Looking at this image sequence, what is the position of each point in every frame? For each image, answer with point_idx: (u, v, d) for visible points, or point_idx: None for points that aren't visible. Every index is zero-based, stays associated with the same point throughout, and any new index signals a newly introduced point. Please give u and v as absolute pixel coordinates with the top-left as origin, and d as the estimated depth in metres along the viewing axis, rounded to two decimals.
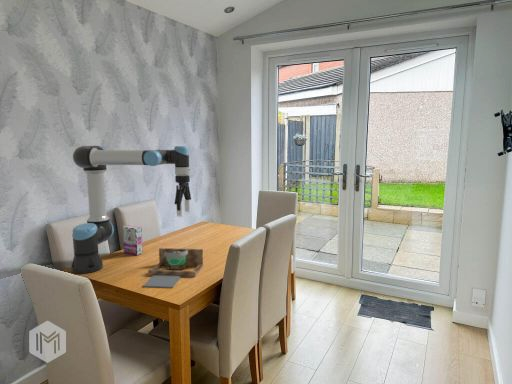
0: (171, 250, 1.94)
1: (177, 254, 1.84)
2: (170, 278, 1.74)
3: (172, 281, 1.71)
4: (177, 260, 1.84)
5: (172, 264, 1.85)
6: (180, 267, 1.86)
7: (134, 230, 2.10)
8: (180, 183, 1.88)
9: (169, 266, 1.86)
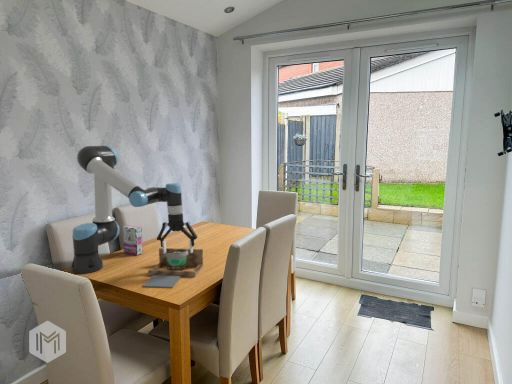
0: (171, 250, 1.94)
1: (178, 254, 1.84)
2: (170, 278, 1.74)
3: (172, 281, 1.71)
4: (178, 261, 1.85)
5: (173, 264, 1.85)
6: (181, 267, 1.86)
7: (134, 230, 2.10)
8: None
9: (169, 267, 1.86)
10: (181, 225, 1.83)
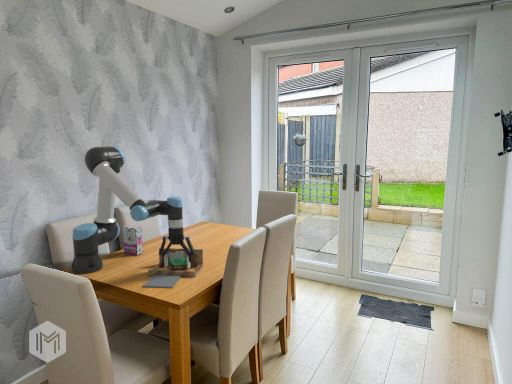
0: (171, 250, 1.94)
1: (180, 254, 1.84)
2: (170, 278, 1.74)
3: (172, 281, 1.71)
4: (180, 260, 1.85)
5: (175, 264, 1.85)
6: (183, 267, 1.86)
7: (134, 230, 2.10)
8: None
9: (172, 266, 1.86)
10: (181, 239, 1.84)
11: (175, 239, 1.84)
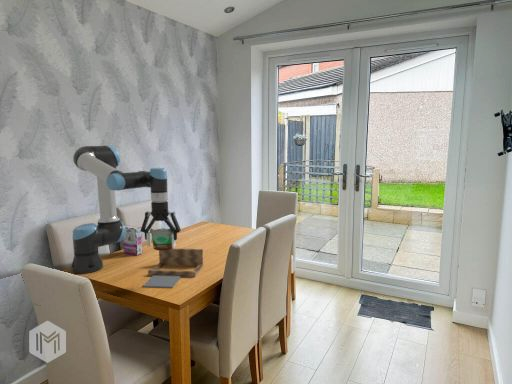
0: (171, 250, 1.94)
1: (164, 231, 1.66)
2: (170, 278, 1.74)
3: (172, 281, 1.71)
4: (164, 238, 1.67)
5: (159, 242, 1.67)
6: (167, 246, 1.68)
7: (134, 230, 2.10)
8: None
9: (155, 245, 1.68)
10: (165, 214, 1.66)
11: (159, 215, 1.66)
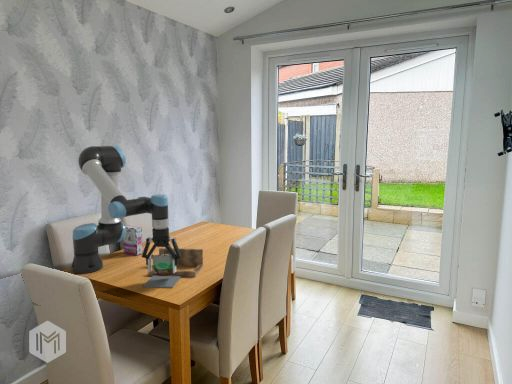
0: None
1: (165, 257, 1.68)
2: (170, 278, 1.74)
3: (172, 281, 1.71)
4: (165, 264, 1.69)
5: (160, 268, 1.69)
6: (168, 271, 1.70)
7: (134, 230, 2.10)
8: None
9: (156, 271, 1.70)
10: (166, 240, 1.68)
11: (160, 241, 1.68)
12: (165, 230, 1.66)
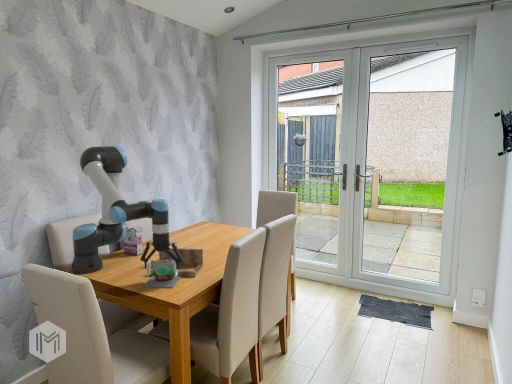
0: (171, 250, 1.94)
1: (165, 263, 1.68)
2: None
3: (172, 281, 1.71)
4: (165, 270, 1.69)
5: (159, 274, 1.69)
6: (168, 277, 1.71)
7: (134, 230, 2.10)
8: None
9: (156, 276, 1.70)
10: (166, 245, 1.68)
11: (160, 246, 1.68)
12: (165, 235, 1.66)
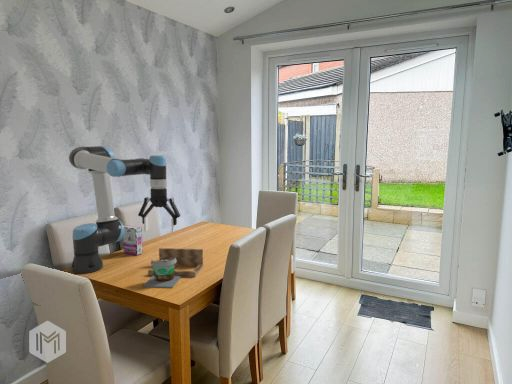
0: (171, 250, 1.94)
1: (165, 263, 1.68)
2: None
3: (172, 281, 1.71)
4: (165, 270, 1.69)
5: (159, 274, 1.69)
6: (168, 277, 1.71)
7: (134, 230, 2.10)
8: None
9: (156, 276, 1.70)
10: (164, 201, 1.70)
11: (157, 201, 1.70)
12: (163, 190, 1.68)
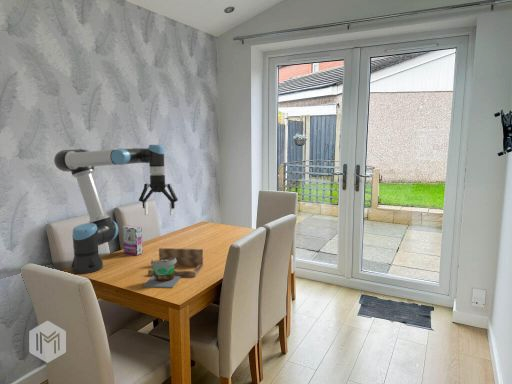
0: (171, 250, 1.94)
1: (165, 263, 1.68)
2: None
3: (172, 281, 1.71)
4: (165, 270, 1.69)
5: (159, 274, 1.69)
6: (168, 277, 1.71)
7: (134, 230, 2.10)
8: None
9: (156, 276, 1.70)
10: (162, 186, 1.85)
11: (156, 187, 1.85)
12: (161, 176, 1.83)
